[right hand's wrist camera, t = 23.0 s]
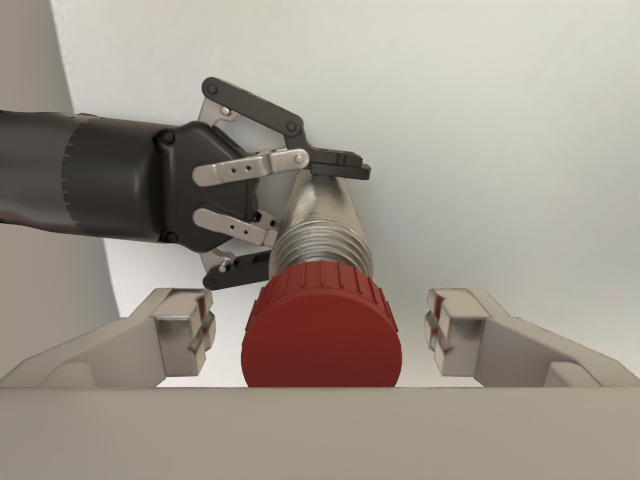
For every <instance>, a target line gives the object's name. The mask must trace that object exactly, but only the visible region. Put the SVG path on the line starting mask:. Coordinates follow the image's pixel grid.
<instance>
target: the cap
mask: <svg viewBox="0 0 640 480" xmlns="http://www.w3.org/2000/svg"><path fill="white" fill-rule="evenodd" d="M245 331H246V333H245V336H244V339H243V342H242V352H241V366H242V372H243V375H244V378H245V381H246V383H247V385H248V387H395V385H396V383H397V381H398V378H399V375H400V372H401V366H402V352H401V344H400V341H399V338H398V335H397V332H398V329H397V326H396V323H395V320H394V317H393V315H392V312H391V309H390V306H389V303H388V301H386V300H385V297H384V294H383V291H382V289H381V288H378V287H377V285H376V284H375V283H374V282H373V281H372V278H371V277H370V276H369V277H367V276H366V275H365V274H363V273H362V272H360V271H359V270H358V268H356V267H355V268H353V267H350V266H348V265H345V264H342V263H341V262H339V261H338V262H332V261H324V260H323V259H321V260H320V261H310V262H306V261H303V263H301V264H298V265H295V266H292V267H289V266H288V267H286V270H284V271H282V272H281V273H279V274H278V275H276V276H275V275H274V276H272V279H271V281H270V282H269V283H268V284H267V285H266V286H265V287H262V288H261V291H260V294H259V297H258V300H255V302H254V305H253V308H252V311H251V314H250V317H249V319H248V322H247V325H246V328H245Z"/></svg>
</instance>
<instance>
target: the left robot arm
mask: <svg viewBox="0 0 640 480" xmlns="http://www.w3.org/2000/svg"><path fill="white" fill-rule="evenodd" d="M202 92H203V94H204V96H205V98H204V101H203V105H202V108H201V111H200V114H199V117H198V120H197V121H192V122H189V123H187V124H185V125H182V126H172V125H163V124H155V123H146V122H137V121H129V120H120V119H112V118H103V117H98V116H95V115H91V114H84V113H81V114H68V113H57V112H36V113H25V112H11V111H2V110H0V223H5V224H16V225H23V226H28V227H32V228H36V229H40V230H44V231H49V232H56V233H64V234H74V235H84V236H94V237H103V238H112V239H123V240H132V241H142V242H152V243H175V244H179V245H182V246H185V247H186V248H188V249H190V250H191V251H193V252H196V253H199V254H200V256H201V259H202V262H203V265H204V267H205V270H206V273H207V274H206V276H205V277H204V279H203V285H204V287H205V288H206V289H210V290H212V291H213V290H219V289H224V288H230V287H235V286H240V285H245V284H251V283H256V282H261V281H266V280H269V267H268V266H269V258H270V253H271V250H269V251H264V252H259V253H254V254H249V255H243V256H238V257H236V256H235V255H234V254H233V253H231V252H222V251H220V250H219V249H218V248H217V247H218V246H220V245H222V244H223V243H225V242H227V241H229V240H230V239H232V238H234V237H235V238H237V239H240V240H243V241H246V242H248V243H251V244H254V245H257V246H262V245H265V246H268V247H271V248H273V245H274V242H275V239H276V236H277V233H278V230H279V227H280V224H281V221H282V220H279V219H277V218H275V217H274V216H273V215H271V214H270V213H267V212H264V211H262V210H259V209H258V201H257V196H256V188H257V185H258V182H259V177H263V176H268V175H271V174H274V173H279V172H285V171H291V170H298V169H307V170H310V174H315V175H325V176H333V177H342V178H351V179H360V180H369V177H370V171H371V168H370V167H369V165H367V164H362V160H363V159H362V158H361V157H360V156H359V155H357V154H355V153H354V152H347V151H337V150H329V149H321V148H315V147H312V146H311V145H310V144H309V143H308V141H307V139H306V135H305V131H304V127H303V126H304V123H303V120H302V119H301V117H299V116H298V115H295V114H293V113H291V112H289V111H287V110H285V109H283V108H281V107H279V106H277V105H275V104H273V103H271V102H269V101H266V100H264V99H262V98H260V97H258V96H256V95H254V94H252V93H250V92H248V91H246V90H244V89H242V88H239V87H237V86H235V85H233V84H231V83H229V82H227V81H224V80H221V79H218V78H214V77H209V78H207V79H205V80H204V82H203V84H202ZM240 115H243V116H245V117H247V118H249V119H252V120H254V121H256V122H258V123H260V124H262V125H264V126H266V127H269V128H271V129H273V130H275V131H277V132H279V133H281V134H283V135H284V139H285V143H286V146H287V147H283V148H277V149H267V150H261V151H255V152H249V153H247V152H245V151H244V150H243V149H242V148H241V147H240V146H239V145H237V144H236V143H235V142H234V141H233V140H232V139H231V138H229V137H228V136H227V135H226V134H225V133H224V132H223V131H221V130H220V129H219V128H218V127H217V124H218V122H220V121H221V120H224V121H235V120H237V119H238V118H239V117H240ZM246 230H247V231H248V232H247V231H246Z"/></svg>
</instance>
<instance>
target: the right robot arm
mask: <svg viewBox="0 0 640 480" xmlns="http://www.w3.org/2000/svg"><path fill="white" fill-rule="evenodd" d="M212 304H213V298H212V292H211V291H210V289H190V288H157V289H154V290H153V291H152V292H151V293H150V295H149V296H148V297H147V298H146V299H145V300H144V301H143V302H142V303H141V304H140V305H139V306H138V307H137V308H136V310H135V311H134V312H133V313H132V314H131V315H130V316H129V317H125V318H120V319H118V320H115V321H113V322H111V323H109V324H106V325H104V326H102V327H99V328H97V329H95V330H92V331H90V332H88V333H85V334H83V335H81V336H78V337H76V338H74V339H71V340H69V341H67V342H64V343H62V344H60V345H58V346H55V347H53V348H51V349H48V350H46V351H44V352H41V353H39V354H37V355H34V356H32V357H30V358H27V359H25V360H23V361H22V362H21V363H19V364H18V365H17V366H16V367H15V368H13V369H12V370H11V371H10V372H9V373H8V374H6V375H5V376H4V377H3V378H2V379H0V480H640V379H639V378H637V377H636V376H635V375H634V374H633V373H631V372H630V371H629V370H628V369H627V368H626V367H624V366H623V365H622V364H621V363H620V362H618V361H617V360H615V359H612V358H610V357H608V356H605V355H603V354H601V353H598V352H596V351H594V350H591V349H589V348H587V347H585V346H582V345H580V344H578V343H575V342H573V341H571V340H568V339H566V338H564V337H561V336H559V335H557V334H555V333H552V332H550V331H548V330H545V329H543V328H541V327H538V326H536V325H534V324H532V323H529V322H527V321H525V320H522V319H520V318H516V317H511V316H510V315H509V314H508V313H507V312H506V311H505V310H504V308H503V307H502V306H501V305H500V304H499V303H498V302H497V301H496V300H495V299H494V298H493V297H492V296H491V294H490V293H489V292H488V291H487V290H486V289H484V288H450V289H431V290H429V293H428V297H427V304H428V306H429V308H430V311H429V312H428V313H427V315H426V316H425V322H424V331H425V338H426V342H427V345H428V347H429V349H431V350H432V351H434V352H435V355H434V360H435V362H436V364H437V367H438V369H439V371H440V373H441V375H442V376H454V377H474V379H475V380H477V381H478V382H479V383H480V384H482V385H483V386H484V387H156V386H157V385H158V384H160V383H161V382H162V381H163V380H165V379H166V377H185V376H198V375H199V373H200V371H201V369H202V367H203V364H204V362H205V360H206V355H205V352H206V351H208V350H209V349H211V347H212V345H213V342H214V338H215V333H216V321H215V316H214V315H213V313H212V312H211V311H210V308H211V306H212Z"/></svg>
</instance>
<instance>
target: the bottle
mask: <svg viewBox="0 0 640 480" xmlns="http://www.w3.org/2000/svg"><path fill="white" fill-rule="evenodd" d="M321 259H323V260H324V261H332V262H338V261H339V262H341V263H342V264H345V265H348V266H350V267H353V268H355V267H356V268H358V270H359V271H360V272H362V273H363V274H365V275H366V276H367V277H369V276H370V277H371V278H373V259H372V255H371V252H370V249H369V246H368V243H367V240H366V238H365V235H364V232H363V229H362V226H361V224H360V221H359V218H358V215H357V212H356V210H355V207H354V204H353V201H352V199H351V196H350V193H349V190H348V187H347V185H346V182H345V179H344V178H342V177H333V176H325V175H315V174H310V170H307V169H300V170H299V172H298V174H297V177H296V180H295V183H294V186H293V189H292V192H291V195H290V198H289V201H288V203H287V206H286V209H285V212H284V215H283V218H282V221H281V224H280V227H279V230H278V233H277V236H276V239H275V242H274V245H273V248H272V250H271V253H270V258H269V266H268V267H269V280H270V281H271V279H272V276H274V275H275V276H276V275H278V274H279V273H281V272H282V271H284V270H286V267H288V266H289V267H292V266H295V265H298V264H301V263H303V261H306V262H310V261H320V260H321Z"/></svg>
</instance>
